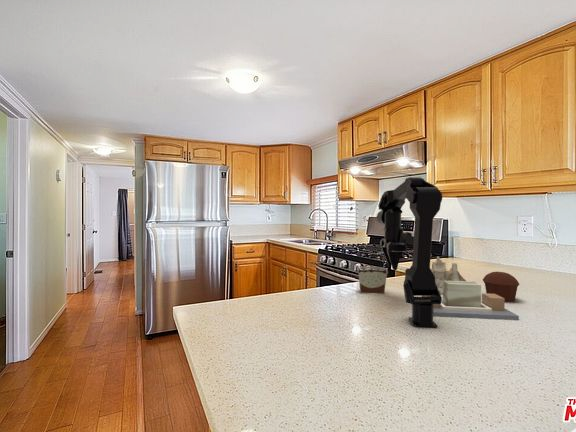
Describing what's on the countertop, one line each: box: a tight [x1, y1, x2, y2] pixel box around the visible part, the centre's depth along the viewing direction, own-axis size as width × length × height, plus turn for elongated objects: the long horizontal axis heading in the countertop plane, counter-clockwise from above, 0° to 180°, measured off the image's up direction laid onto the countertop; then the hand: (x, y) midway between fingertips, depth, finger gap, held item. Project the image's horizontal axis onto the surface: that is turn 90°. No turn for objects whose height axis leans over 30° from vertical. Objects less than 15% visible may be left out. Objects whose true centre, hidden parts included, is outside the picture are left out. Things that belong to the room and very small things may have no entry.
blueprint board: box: [421, 292, 520, 321], centre depth 105 cm, size 15×27×5 cm, turn 83°
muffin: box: [482, 271, 520, 303], centre depth 119 cm, size 12×11×10 cm
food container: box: [356, 265, 389, 295], centre depth 129 cm, size 12×6×10 cm, turn 84°
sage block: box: [442, 280, 482, 308], centre depth 105 cm, size 5×10×8 cm, turn 82°
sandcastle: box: [430, 256, 467, 295], centre depth 132 cm, size 16×16×15 cm
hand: (392, 267), depth 116 cm, fingers open, 9 cm apart
